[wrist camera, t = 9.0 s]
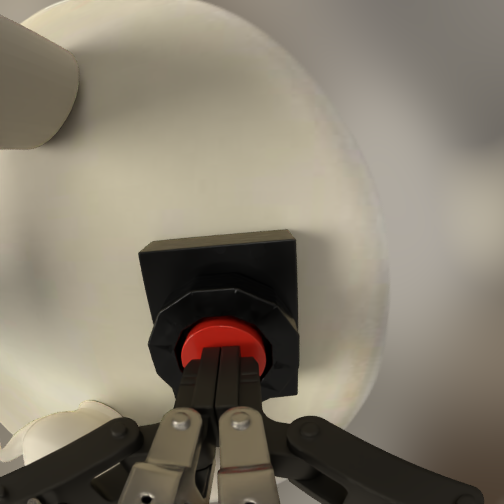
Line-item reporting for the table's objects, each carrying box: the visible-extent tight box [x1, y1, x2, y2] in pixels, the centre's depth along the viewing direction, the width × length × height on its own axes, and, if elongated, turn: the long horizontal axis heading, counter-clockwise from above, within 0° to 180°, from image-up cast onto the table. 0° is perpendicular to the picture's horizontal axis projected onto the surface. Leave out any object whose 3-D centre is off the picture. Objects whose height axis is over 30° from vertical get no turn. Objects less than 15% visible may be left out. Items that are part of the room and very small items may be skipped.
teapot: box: [0, 401, 122, 478], centre depth 14 cm, size 10×20×9 cm, turn 86°
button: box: [181, 316, 266, 376], centre depth 12 cm, size 4×4×2 cm
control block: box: [138, 229, 299, 402], centre depth 13 cm, size 9×7×4 cm
